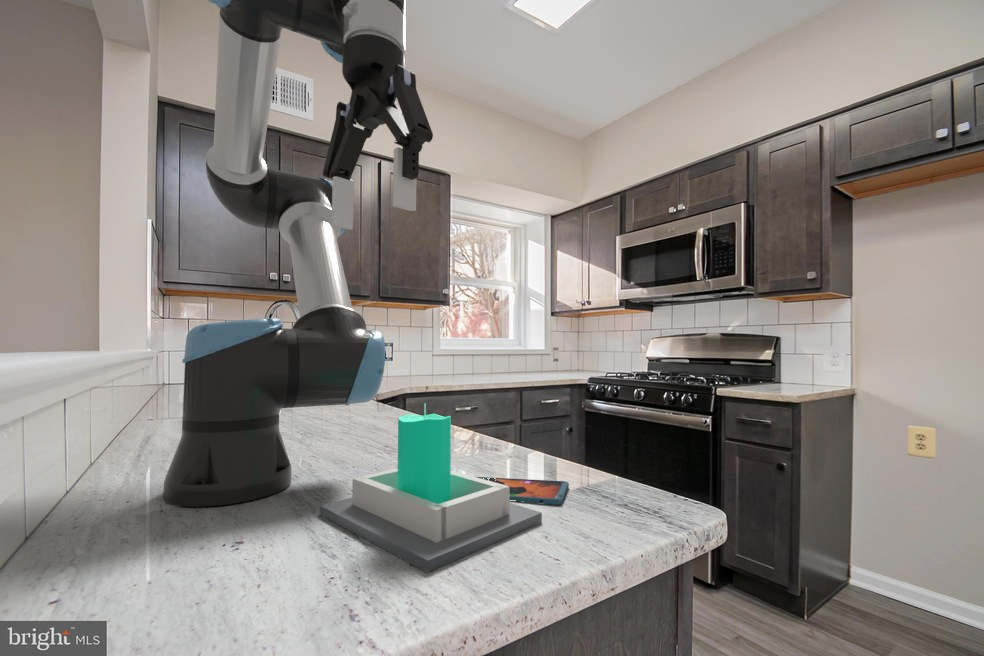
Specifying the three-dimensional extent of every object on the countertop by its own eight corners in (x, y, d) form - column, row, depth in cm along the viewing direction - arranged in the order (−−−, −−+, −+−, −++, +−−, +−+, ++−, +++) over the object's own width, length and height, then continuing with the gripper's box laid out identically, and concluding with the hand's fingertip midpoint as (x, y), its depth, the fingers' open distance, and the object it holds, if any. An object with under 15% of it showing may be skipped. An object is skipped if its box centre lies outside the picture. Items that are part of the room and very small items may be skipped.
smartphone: (467, 475, 68) (569, 481, 64) (468, 485, 68) (569, 491, 64) (447, 490, 60) (560, 497, 56) (447, 500, 60) (561, 508, 56)
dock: (320, 514, 53) (320, 479, 53) (428, 484, 64) (429, 456, 65) (427, 572, 39) (428, 524, 39) (541, 521, 51) (541, 485, 51)
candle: (455, 516, 49) (456, 405, 50) (399, 522, 48) (400, 407, 48) (445, 499, 55) (446, 399, 56) (395, 503, 54) (396, 401, 54)
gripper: (299, 75, 63) (295, 228, 62) (412, -20, 46) (408, 188, 45) (348, 98, 68) (345, 238, 68) (465, 20, 52) (463, 206, 51)
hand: (370, 219), depth 56 cm, fingers open, 13 cm apart
